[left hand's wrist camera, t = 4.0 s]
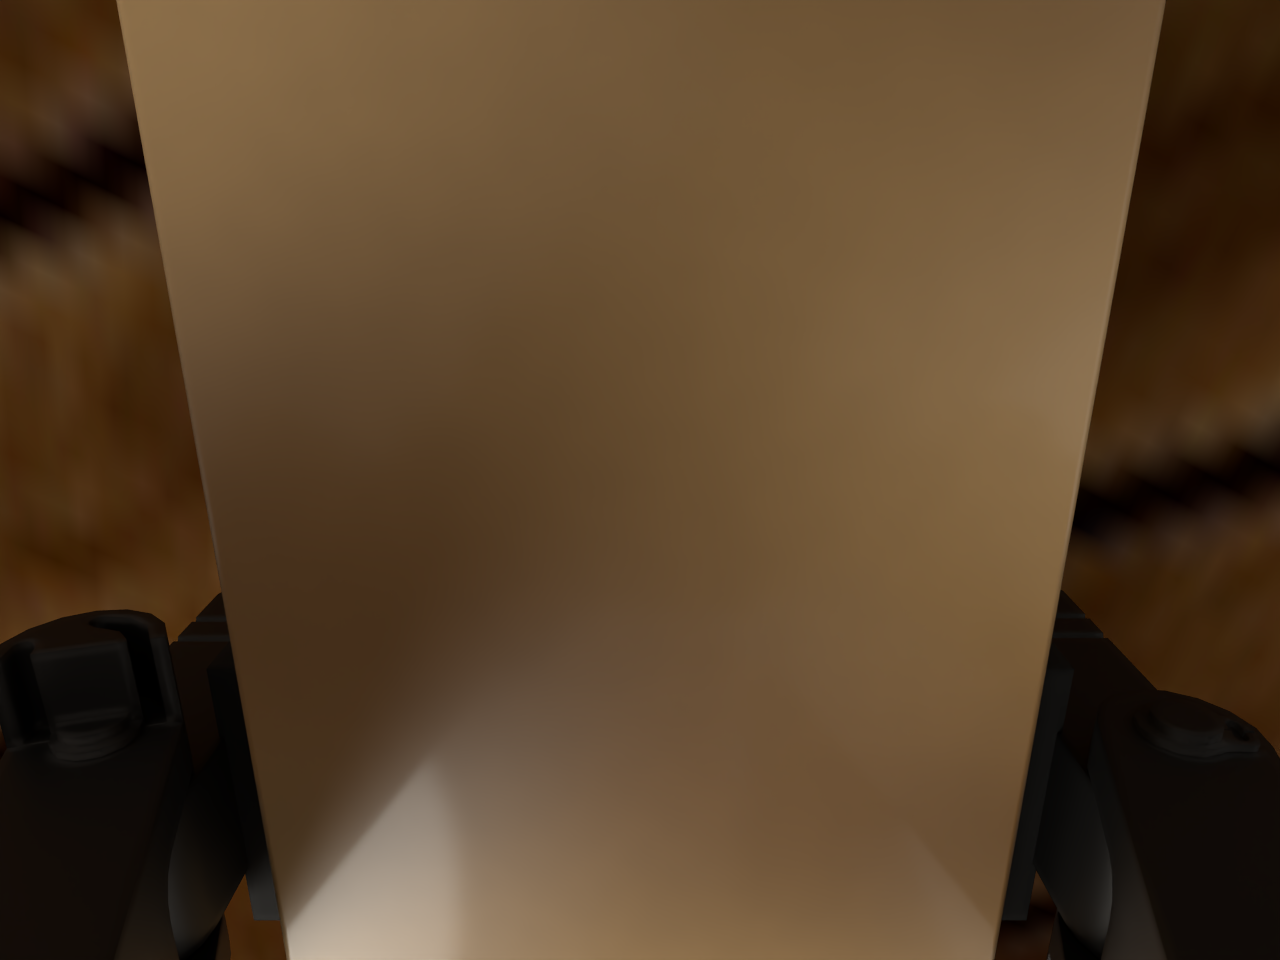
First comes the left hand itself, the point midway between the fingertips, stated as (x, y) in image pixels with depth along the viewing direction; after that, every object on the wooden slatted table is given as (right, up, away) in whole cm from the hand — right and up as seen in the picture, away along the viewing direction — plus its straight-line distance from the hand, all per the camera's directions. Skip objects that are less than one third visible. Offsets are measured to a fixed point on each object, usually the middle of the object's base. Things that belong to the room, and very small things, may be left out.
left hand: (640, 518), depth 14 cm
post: (0, -20, +8) cm, 22 cm away
